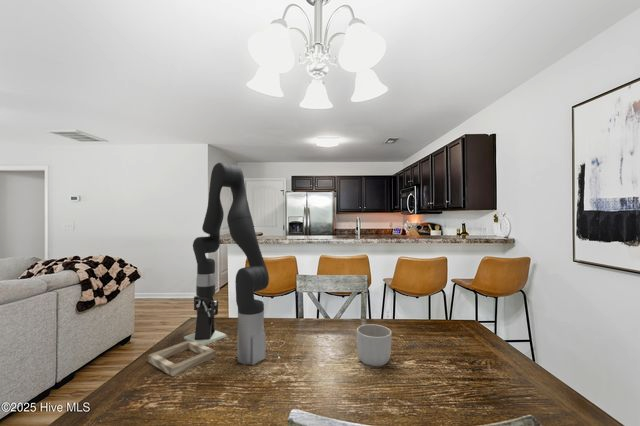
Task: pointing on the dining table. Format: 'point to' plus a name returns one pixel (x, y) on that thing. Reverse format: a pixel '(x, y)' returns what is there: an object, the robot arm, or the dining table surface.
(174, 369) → the pocket holder
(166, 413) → the dining table surface
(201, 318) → the phone stand
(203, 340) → the sage mat
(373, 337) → the planter
